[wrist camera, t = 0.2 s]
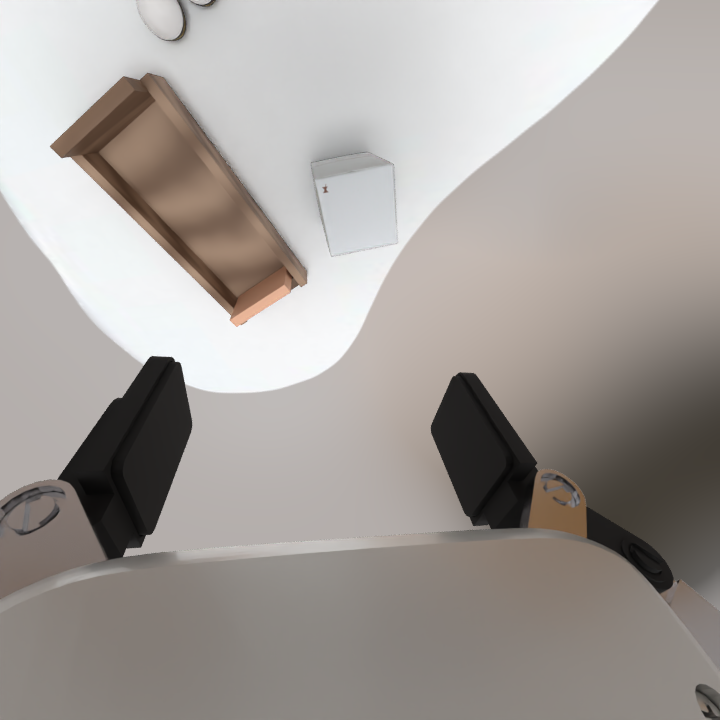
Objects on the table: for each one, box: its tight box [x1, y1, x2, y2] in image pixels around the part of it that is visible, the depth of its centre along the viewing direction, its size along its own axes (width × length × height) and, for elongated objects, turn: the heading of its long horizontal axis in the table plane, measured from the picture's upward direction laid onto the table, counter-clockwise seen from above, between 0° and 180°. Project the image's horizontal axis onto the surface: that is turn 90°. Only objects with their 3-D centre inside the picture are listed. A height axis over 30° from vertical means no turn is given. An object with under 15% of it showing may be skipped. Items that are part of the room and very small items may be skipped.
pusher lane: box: [50, 73, 307, 325], centre depth 36 cm, size 24×11×7 cm, turn 30°
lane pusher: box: [230, 266, 292, 327], centre depth 42 cm, size 1×9×7 cm, turn 120°
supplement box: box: [311, 152, 398, 257], centre depth 34 cm, size 7×7×13 cm
